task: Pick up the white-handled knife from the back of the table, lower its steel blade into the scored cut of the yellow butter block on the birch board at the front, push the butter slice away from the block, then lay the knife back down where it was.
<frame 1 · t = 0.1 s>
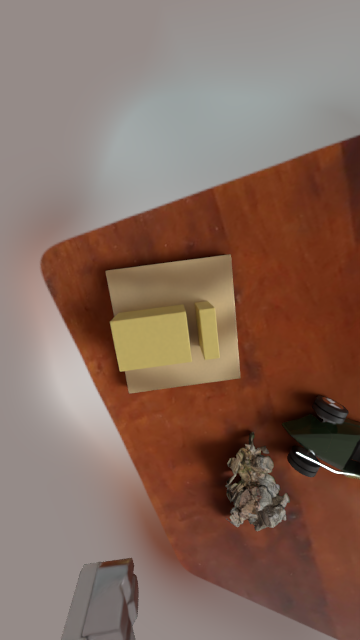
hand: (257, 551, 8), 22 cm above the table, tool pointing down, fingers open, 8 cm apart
toy car: (344, 435, 33), on the table
butter: (154, 330, 27), point 1 cm above the table, touching butter board
butter board: (176, 324, 29), on the table
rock: (252, 478, 34), on the table
butter slice: (203, 324, 27), point 1 cm above the table, touching butter board
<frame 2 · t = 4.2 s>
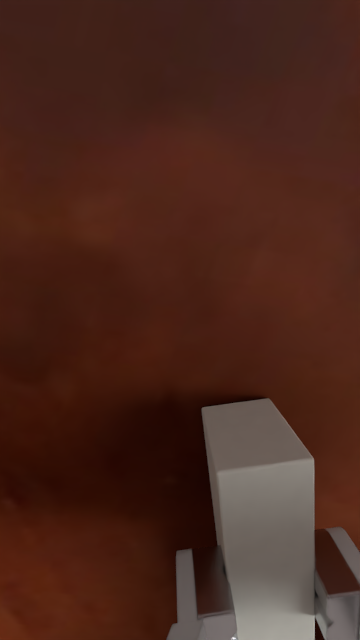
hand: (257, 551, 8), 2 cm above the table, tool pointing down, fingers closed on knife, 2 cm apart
knife: (243, 505, 10), on the table, touching gripper
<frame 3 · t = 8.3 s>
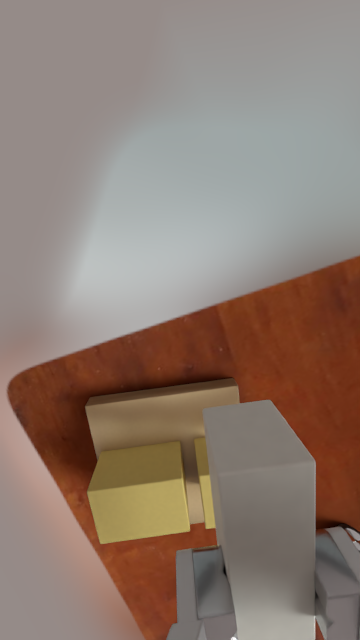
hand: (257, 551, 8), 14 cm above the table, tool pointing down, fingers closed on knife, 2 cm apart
knife: (244, 506, 10), point 13 cm above the table, touching gripper
butter: (144, 469, 22), point 1 cm above the table, touching butter board
butter board: (172, 453, 24), on the table
butter slice: (204, 460, 23), point 1 cm above the table, touching butter board
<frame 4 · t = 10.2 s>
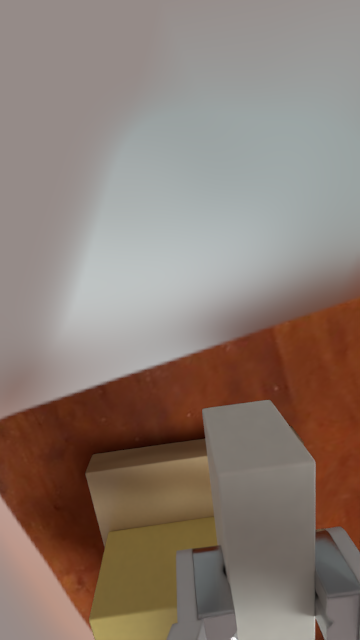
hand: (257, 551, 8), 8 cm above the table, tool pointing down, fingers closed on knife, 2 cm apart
knife: (244, 506, 10), point 6 cm above the table, touching gripper
butter: (169, 552, 16), point 1 cm above the table, touching butter board
butter board: (203, 523, 18), on the table
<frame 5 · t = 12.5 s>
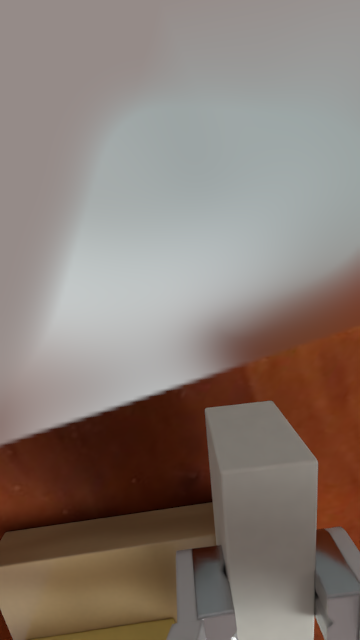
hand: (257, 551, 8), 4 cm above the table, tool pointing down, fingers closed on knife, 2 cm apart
knife: (243, 507, 10), point 2 cm above the table, touching butter slice, gripper
butter board: (161, 612, 14), on the table
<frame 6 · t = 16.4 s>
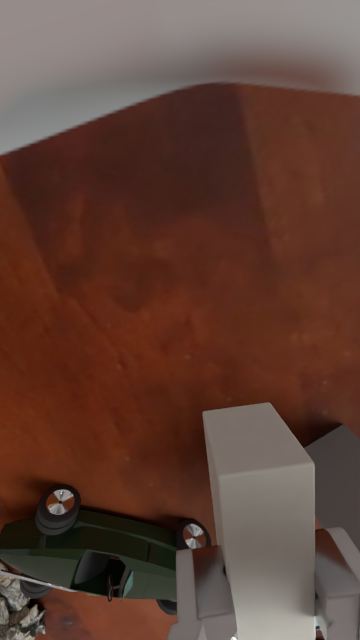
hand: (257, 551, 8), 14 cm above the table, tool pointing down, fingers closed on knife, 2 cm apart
knife: (244, 509, 10), point 13 cm above the table, touching gripper
toy car: (112, 530, 26), on the table
perfume bottle: (327, 463, 25), on the table
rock: (2, 581, 27), on the table
when the fingers open (1 cm above the table, at t = 19.4 s): knife stays where it is, on the table.
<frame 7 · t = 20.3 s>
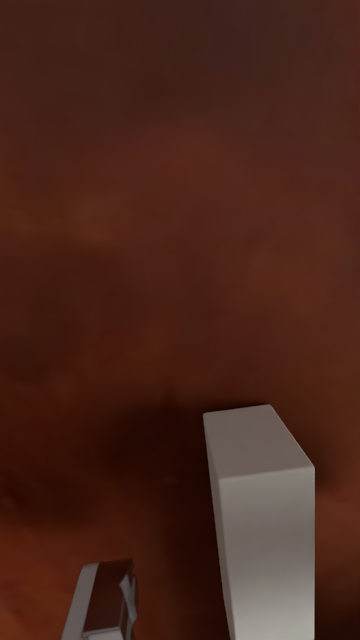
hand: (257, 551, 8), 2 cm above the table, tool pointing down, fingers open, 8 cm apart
knife: (244, 509, 10), on the table
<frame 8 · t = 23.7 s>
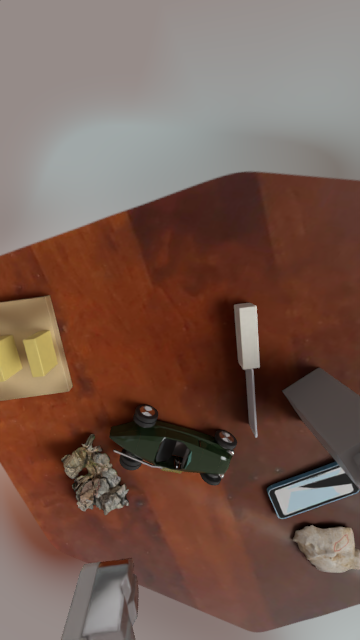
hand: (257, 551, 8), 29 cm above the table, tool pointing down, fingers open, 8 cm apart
knife: (243, 333, 37), on the table
toy car: (172, 437, 41), on the table
butter board: (17, 348, 36), on the table
perfume bottle: (309, 394, 40), on the table
stone: (326, 542, 48), on the table
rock: (100, 471, 42), on the table
smartphone: (310, 485, 44), on the table
butter slice: (48, 347, 35), point 1 cm above the table, touching butter board
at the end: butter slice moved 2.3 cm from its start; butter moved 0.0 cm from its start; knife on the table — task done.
